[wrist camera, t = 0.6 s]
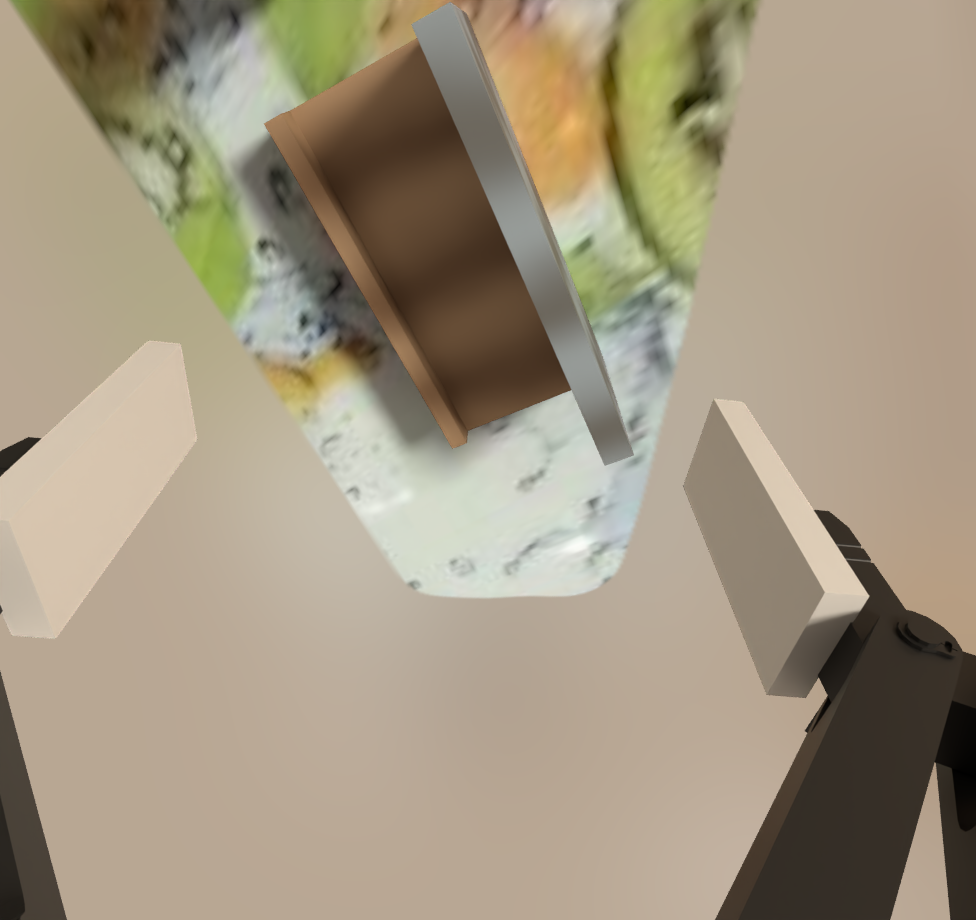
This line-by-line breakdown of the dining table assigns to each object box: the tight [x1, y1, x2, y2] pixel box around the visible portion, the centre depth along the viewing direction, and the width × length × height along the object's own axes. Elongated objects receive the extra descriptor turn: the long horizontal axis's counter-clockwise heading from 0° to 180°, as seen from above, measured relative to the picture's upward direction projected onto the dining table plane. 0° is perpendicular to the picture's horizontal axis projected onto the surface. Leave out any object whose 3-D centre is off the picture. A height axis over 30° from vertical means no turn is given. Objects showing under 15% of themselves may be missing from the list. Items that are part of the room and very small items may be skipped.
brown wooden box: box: [264, 2, 634, 465], centre depth 33 cm, size 20×10×12 cm, turn 25°
